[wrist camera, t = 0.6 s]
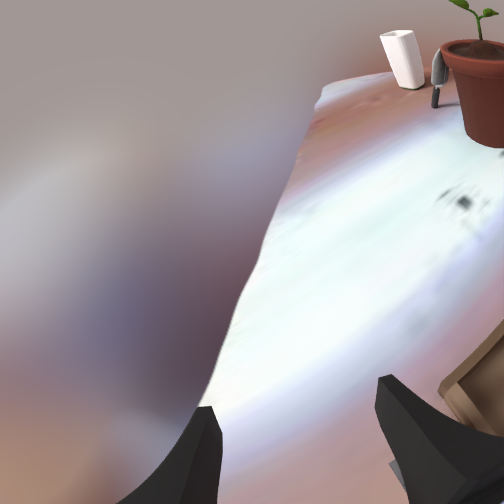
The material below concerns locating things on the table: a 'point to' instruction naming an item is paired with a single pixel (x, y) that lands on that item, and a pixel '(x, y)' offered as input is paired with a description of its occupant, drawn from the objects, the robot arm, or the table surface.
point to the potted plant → (475, 82)
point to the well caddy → (479, 387)
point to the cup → (404, 58)
